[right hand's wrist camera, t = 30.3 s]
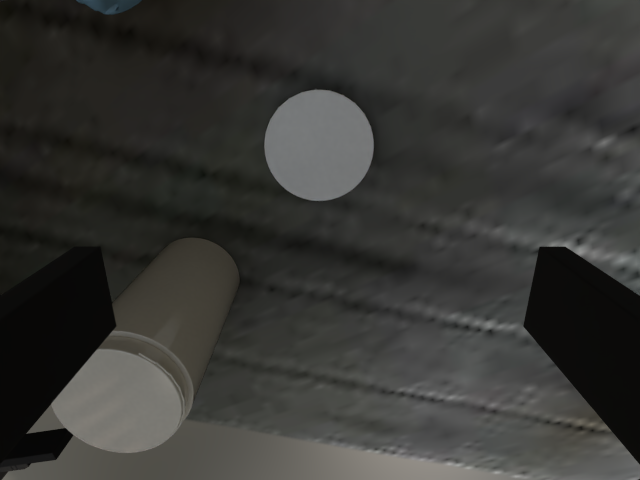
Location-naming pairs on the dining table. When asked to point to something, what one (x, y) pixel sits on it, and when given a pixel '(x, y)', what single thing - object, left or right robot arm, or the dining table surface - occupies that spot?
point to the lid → (319, 145)
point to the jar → (153, 350)
